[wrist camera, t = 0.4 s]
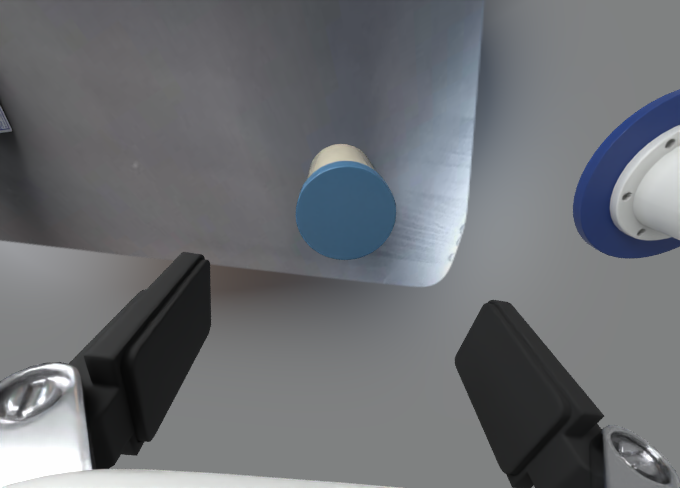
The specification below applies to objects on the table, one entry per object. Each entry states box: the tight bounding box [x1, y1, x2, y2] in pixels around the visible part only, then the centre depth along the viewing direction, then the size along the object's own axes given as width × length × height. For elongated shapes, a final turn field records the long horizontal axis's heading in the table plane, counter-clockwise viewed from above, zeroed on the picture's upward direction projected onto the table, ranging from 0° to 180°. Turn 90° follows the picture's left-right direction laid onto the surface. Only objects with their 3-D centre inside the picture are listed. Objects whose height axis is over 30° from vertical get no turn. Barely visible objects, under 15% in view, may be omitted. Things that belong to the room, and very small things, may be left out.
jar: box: [307, 144, 375, 179], centre depth 23 cm, size 6×6×9 cm
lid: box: [296, 161, 396, 260], centre depth 20 cm, size 7×7×2 cm
